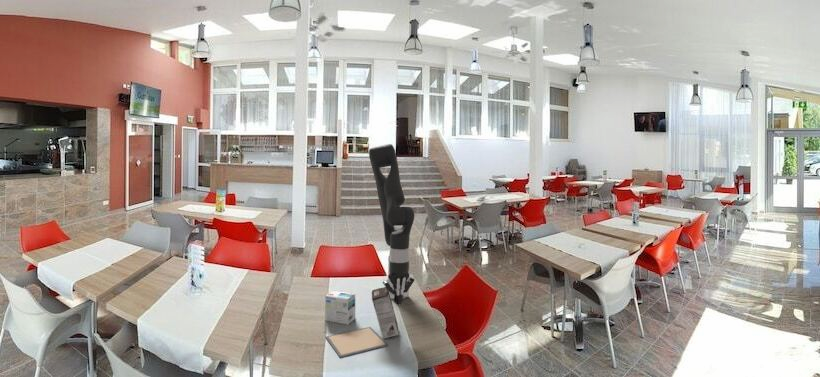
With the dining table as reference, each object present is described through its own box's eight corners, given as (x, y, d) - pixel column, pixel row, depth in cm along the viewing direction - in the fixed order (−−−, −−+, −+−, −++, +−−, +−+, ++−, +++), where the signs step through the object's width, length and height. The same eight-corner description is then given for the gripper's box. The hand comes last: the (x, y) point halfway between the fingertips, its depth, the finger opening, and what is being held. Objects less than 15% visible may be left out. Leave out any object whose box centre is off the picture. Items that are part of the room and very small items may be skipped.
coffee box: (382, 328, 153) (371, 290, 151) (398, 324, 154) (387, 285, 152) (382, 339, 144) (371, 298, 142) (399, 334, 145) (388, 294, 143)
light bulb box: (355, 318, 162) (356, 293, 161) (348, 325, 155) (348, 299, 154) (333, 314, 165) (333, 289, 164) (324, 321, 159) (324, 295, 158)
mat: (370, 327, 153) (370, 326, 153) (388, 345, 140) (388, 344, 140) (325, 337, 145) (325, 336, 145) (339, 357, 131) (339, 356, 131)
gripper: (409, 255, 154) (408, 297, 156) (379, 258, 147) (378, 303, 149) (419, 259, 148) (418, 304, 149) (388, 263, 141) (387, 310, 142)
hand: (398, 303), depth 149 cm, fingers closed
